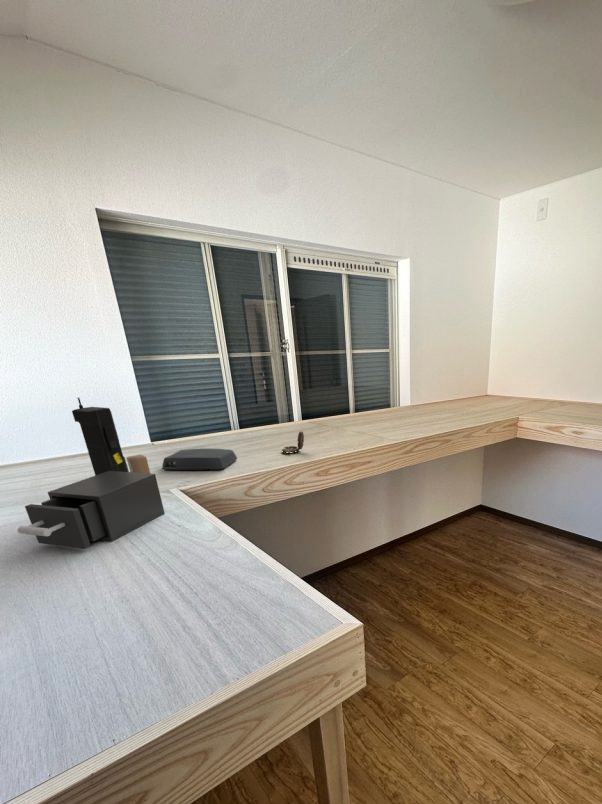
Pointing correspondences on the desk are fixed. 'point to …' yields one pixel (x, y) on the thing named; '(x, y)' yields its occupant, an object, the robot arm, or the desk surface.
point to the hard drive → (199, 459)
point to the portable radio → (100, 439)
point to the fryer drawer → (65, 522)
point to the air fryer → (119, 499)
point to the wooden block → (138, 464)
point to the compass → (294, 448)
